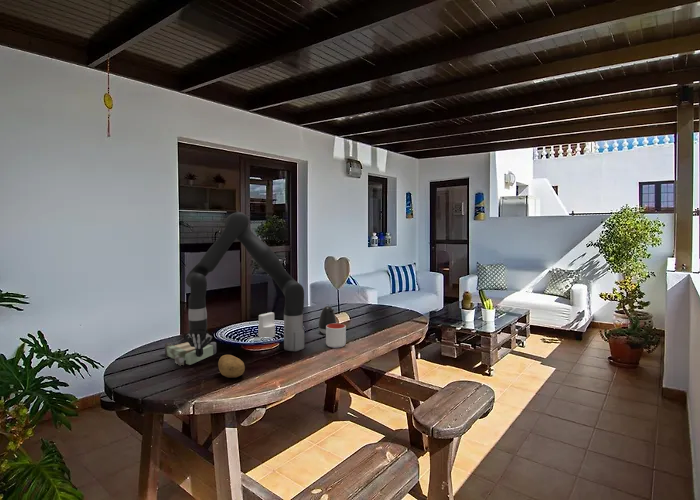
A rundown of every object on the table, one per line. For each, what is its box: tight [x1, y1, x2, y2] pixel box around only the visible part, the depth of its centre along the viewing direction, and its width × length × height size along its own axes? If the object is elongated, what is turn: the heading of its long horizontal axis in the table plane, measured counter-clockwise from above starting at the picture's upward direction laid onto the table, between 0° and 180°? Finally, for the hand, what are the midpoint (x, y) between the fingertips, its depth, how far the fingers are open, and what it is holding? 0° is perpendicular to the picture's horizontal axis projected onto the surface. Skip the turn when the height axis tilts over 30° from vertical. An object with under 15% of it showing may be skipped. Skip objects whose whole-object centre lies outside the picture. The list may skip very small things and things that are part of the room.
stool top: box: [164, 341, 210, 367], centre depth 186 cm, size 20×17×5 cm
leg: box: [185, 341, 217, 366], centre depth 183 cm, size 17×3×5 cm, turn 157°
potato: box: [217, 354, 246, 379], centre depth 163 cm, size 10×14×8 cm
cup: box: [325, 322, 347, 349], centre depth 203 cm, size 10×10×10 cm
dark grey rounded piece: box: [318, 305, 337, 335], centre depth 223 cm, size 10×10×15 cm
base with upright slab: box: [257, 311, 276, 338], centre depth 218 cm, size 9×9×12 cm
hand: (199, 356), depth 177 cm, fingers closed
